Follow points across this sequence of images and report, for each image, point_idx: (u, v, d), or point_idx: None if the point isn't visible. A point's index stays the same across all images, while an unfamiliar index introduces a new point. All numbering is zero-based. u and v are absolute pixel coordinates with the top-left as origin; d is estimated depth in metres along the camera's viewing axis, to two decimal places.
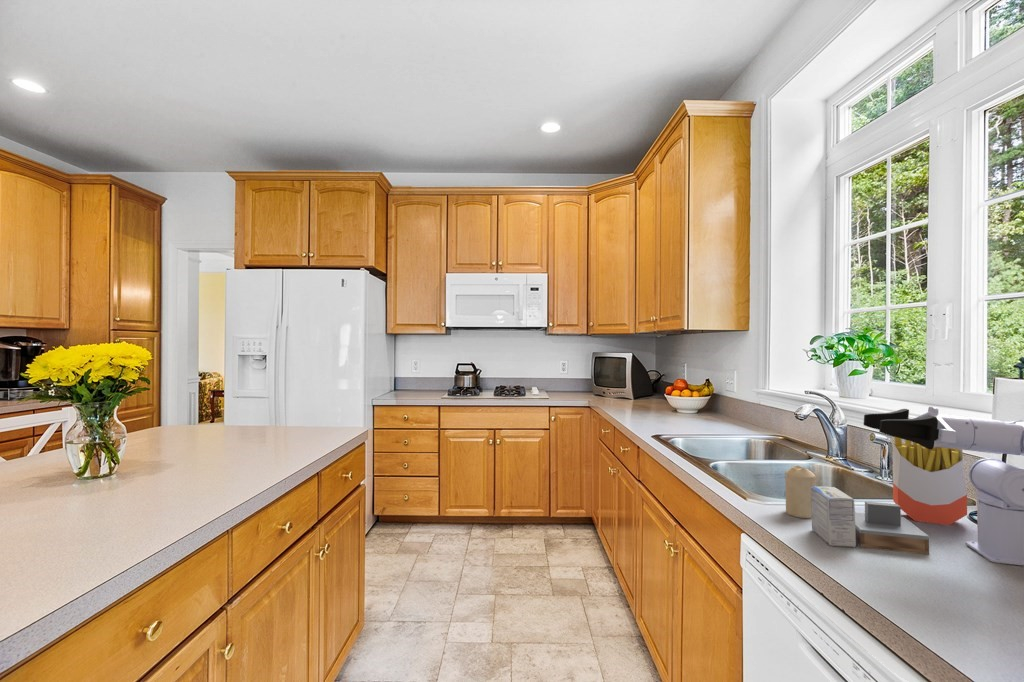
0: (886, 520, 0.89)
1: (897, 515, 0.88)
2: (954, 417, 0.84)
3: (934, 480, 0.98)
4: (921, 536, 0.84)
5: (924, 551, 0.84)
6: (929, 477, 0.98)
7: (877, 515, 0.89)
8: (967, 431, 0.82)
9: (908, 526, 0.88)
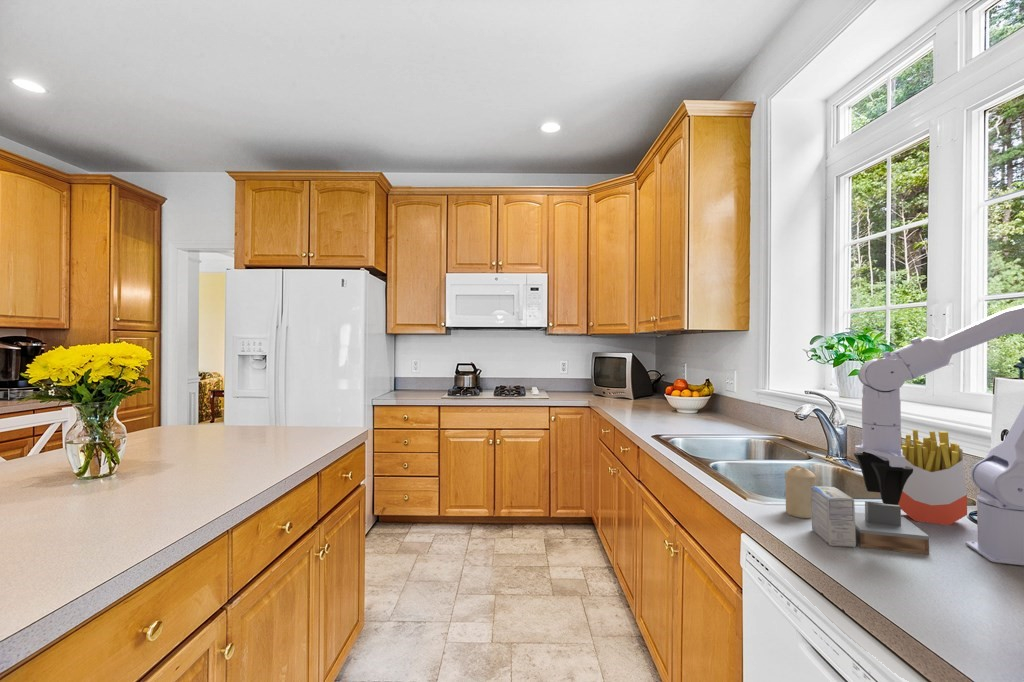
0: (886, 520, 0.89)
1: (897, 515, 0.88)
2: (866, 435, 0.90)
3: (934, 480, 0.98)
4: (922, 536, 0.84)
5: (924, 551, 0.84)
6: (929, 477, 0.98)
7: (877, 515, 0.89)
8: (882, 431, 0.88)
9: (909, 526, 0.88)
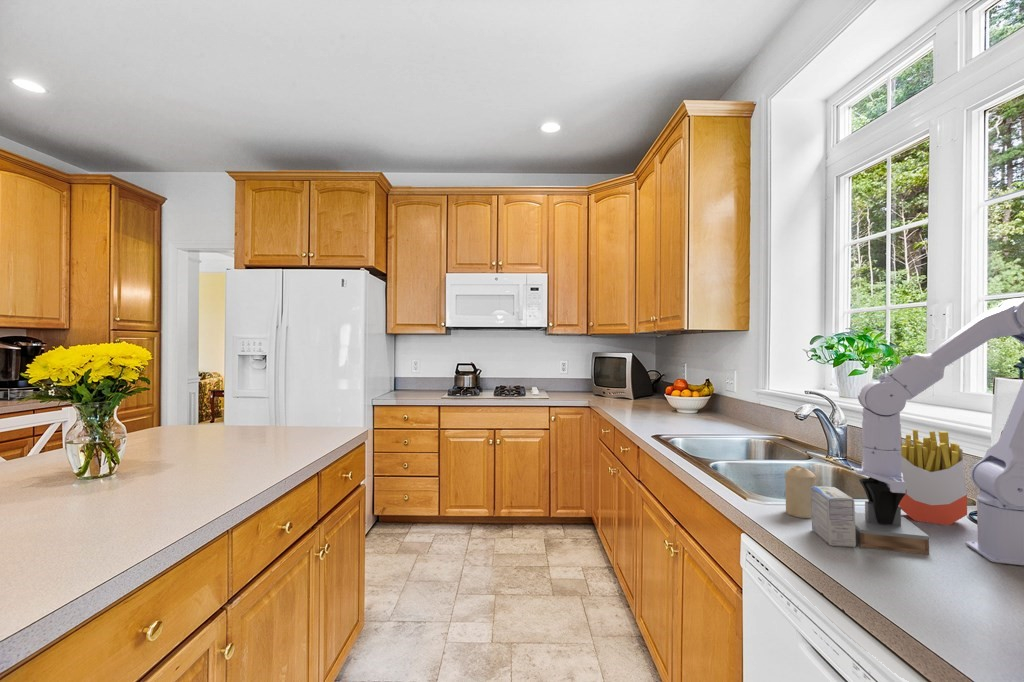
0: None
1: (897, 515, 0.88)
2: (866, 458, 0.90)
3: (934, 480, 0.98)
4: (922, 536, 0.84)
5: (924, 551, 0.84)
6: (929, 477, 0.98)
7: None
8: (883, 455, 0.88)
9: (909, 526, 0.88)
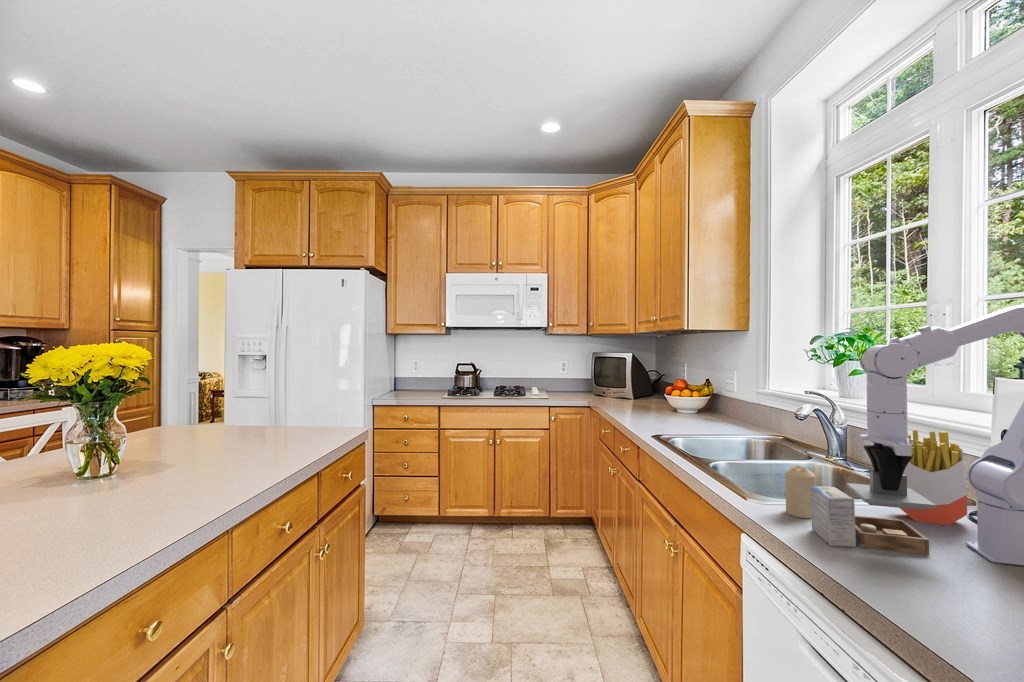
0: None
1: (903, 485, 0.85)
2: (871, 423, 0.87)
3: (934, 480, 0.98)
4: (928, 505, 0.81)
5: (924, 551, 0.84)
6: (929, 477, 0.98)
7: None
8: (888, 419, 0.85)
9: (915, 496, 0.85)
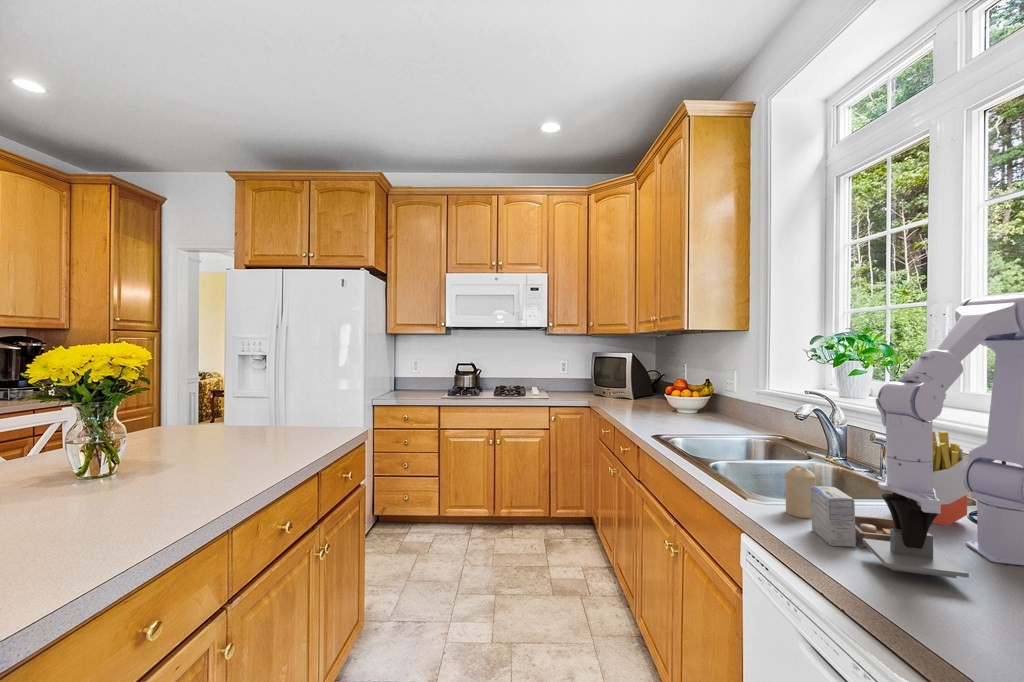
0: (916, 551, 0.76)
1: (929, 546, 0.75)
2: (891, 471, 0.77)
3: (934, 480, 0.98)
4: (960, 573, 0.71)
5: None
6: None
7: None
8: (912, 467, 0.75)
9: (942, 559, 0.75)
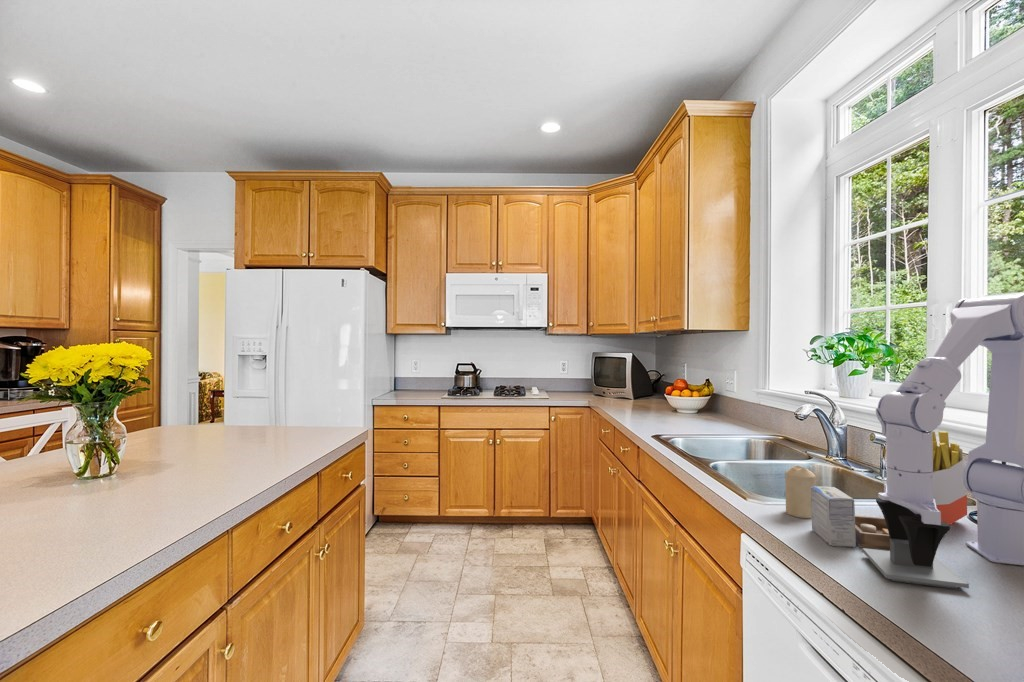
0: None
1: None
2: (892, 481, 0.77)
3: (934, 480, 0.98)
4: (960, 584, 0.71)
5: None
6: None
7: (905, 556, 0.76)
8: (912, 478, 0.75)
9: (942, 569, 0.75)
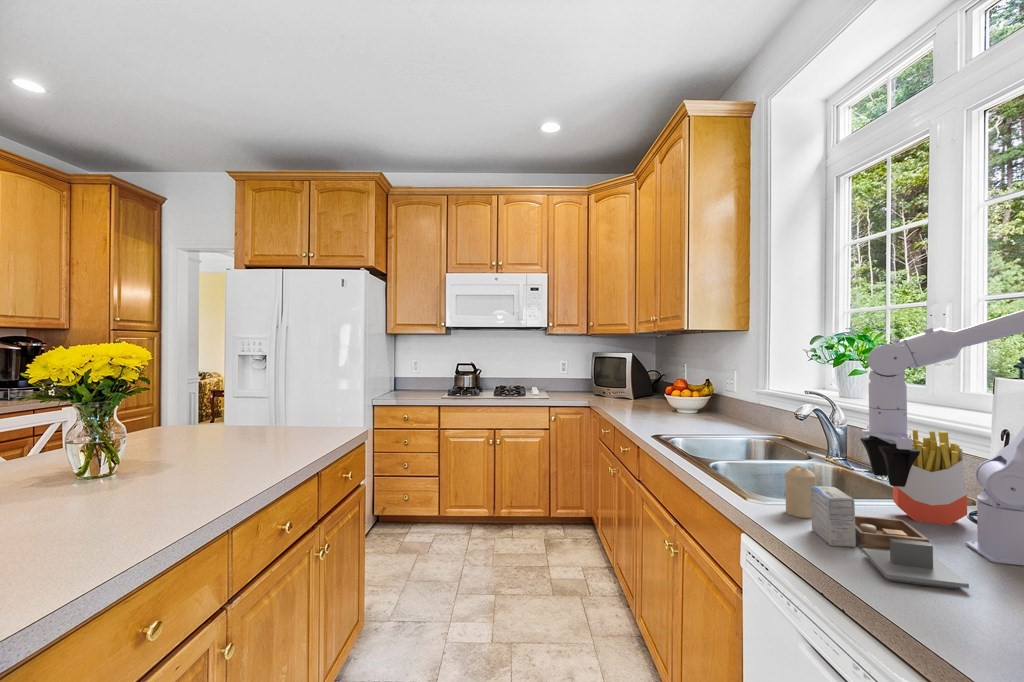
0: (916, 562, 0.76)
1: (929, 556, 0.75)
2: (873, 419, 0.92)
3: (934, 480, 0.98)
4: (960, 584, 0.71)
5: None
6: (929, 477, 0.98)
7: (905, 556, 0.76)
8: (889, 414, 0.89)
9: (942, 569, 0.75)
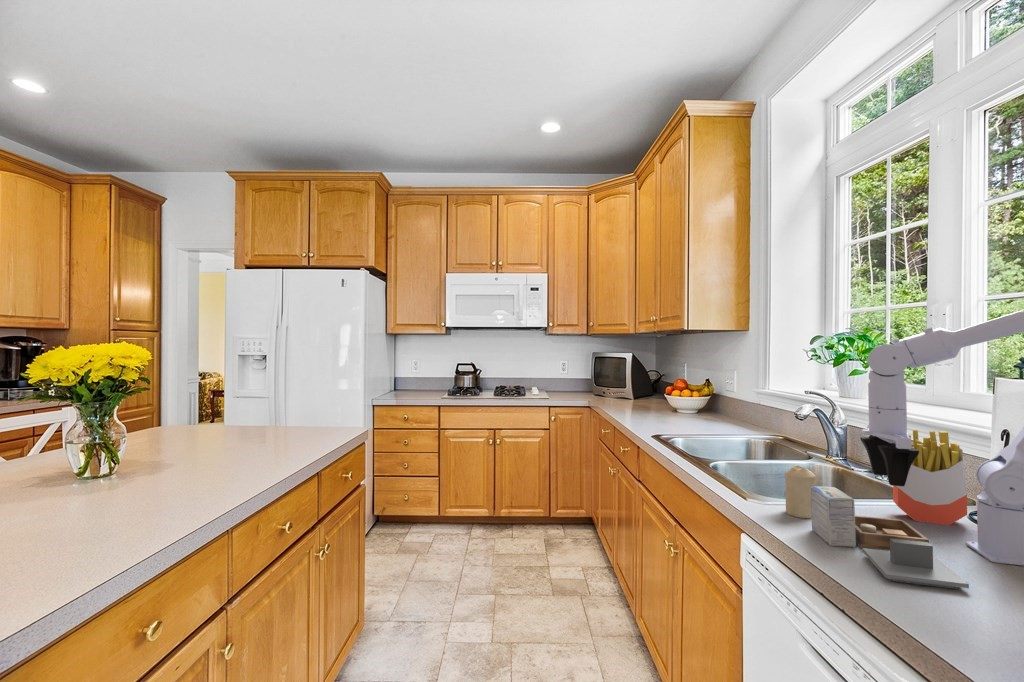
0: (916, 562, 0.76)
1: (929, 556, 0.75)
2: (872, 419, 0.92)
3: (934, 480, 0.98)
4: (960, 584, 0.71)
5: None
6: (929, 477, 0.98)
7: (905, 556, 0.76)
8: (889, 414, 0.90)
9: (942, 569, 0.75)
